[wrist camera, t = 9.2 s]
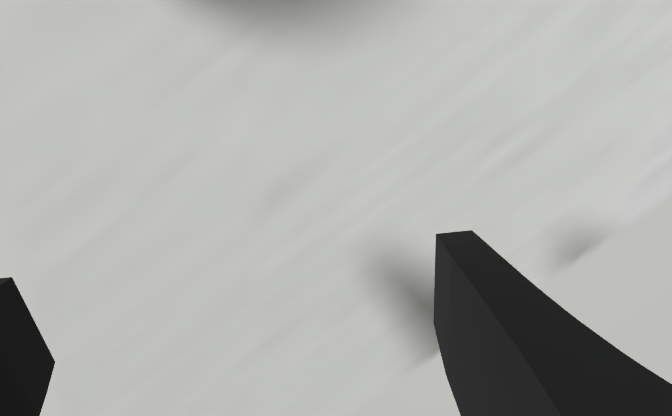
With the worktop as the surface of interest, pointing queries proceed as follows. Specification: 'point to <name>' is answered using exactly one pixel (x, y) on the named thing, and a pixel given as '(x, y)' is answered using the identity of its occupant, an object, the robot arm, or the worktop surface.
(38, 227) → the worktop surface
